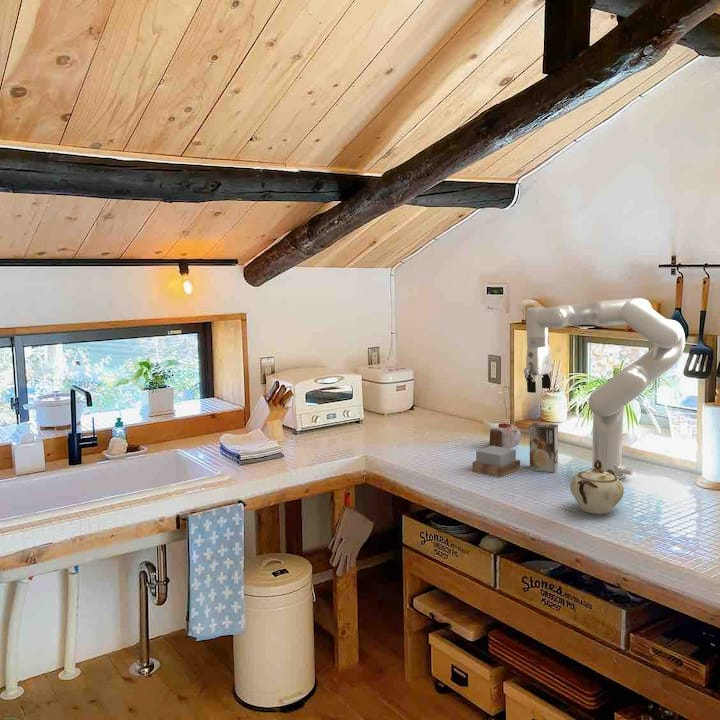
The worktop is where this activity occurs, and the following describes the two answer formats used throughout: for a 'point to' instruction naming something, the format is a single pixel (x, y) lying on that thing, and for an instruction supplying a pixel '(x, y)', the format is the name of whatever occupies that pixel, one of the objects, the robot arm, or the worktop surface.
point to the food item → (505, 436)
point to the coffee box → (544, 447)
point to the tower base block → (497, 468)
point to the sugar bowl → (597, 490)
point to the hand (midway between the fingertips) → (539, 390)
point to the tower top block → (496, 456)
